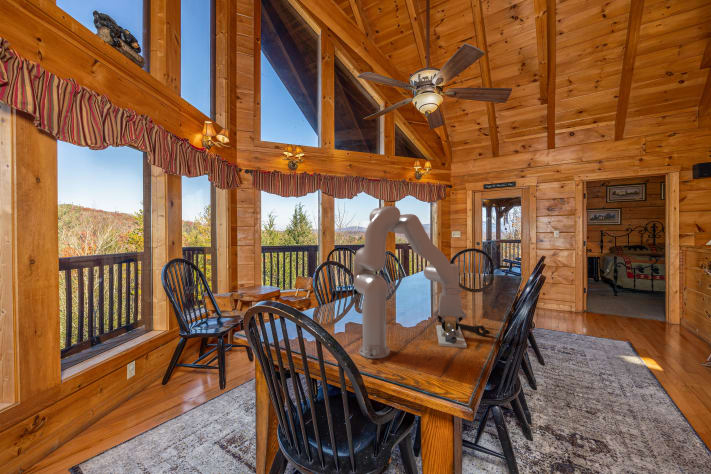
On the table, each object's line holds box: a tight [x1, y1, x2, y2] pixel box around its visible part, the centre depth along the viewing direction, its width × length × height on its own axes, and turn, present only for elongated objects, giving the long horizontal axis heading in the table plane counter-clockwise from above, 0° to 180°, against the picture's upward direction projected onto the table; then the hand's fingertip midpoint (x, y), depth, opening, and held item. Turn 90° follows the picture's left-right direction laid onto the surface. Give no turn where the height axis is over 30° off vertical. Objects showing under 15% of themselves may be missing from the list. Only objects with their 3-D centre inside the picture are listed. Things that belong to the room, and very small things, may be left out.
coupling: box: [445, 317, 456, 333], centre depth 132 cm, size 7×4×6 cm, turn 167°
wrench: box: [438, 316, 491, 337], centre depth 144 cm, size 5×5×30 cm
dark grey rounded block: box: [445, 329, 458, 344], centre depth 124 cm, size 6×4×5 cm, turn 137°
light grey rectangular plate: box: [435, 324, 467, 349], centre depth 133 cm, size 24×11×2 cm, turn 167°
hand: (450, 330), depth 132 cm, fingers closed on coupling, 4 cm apart
